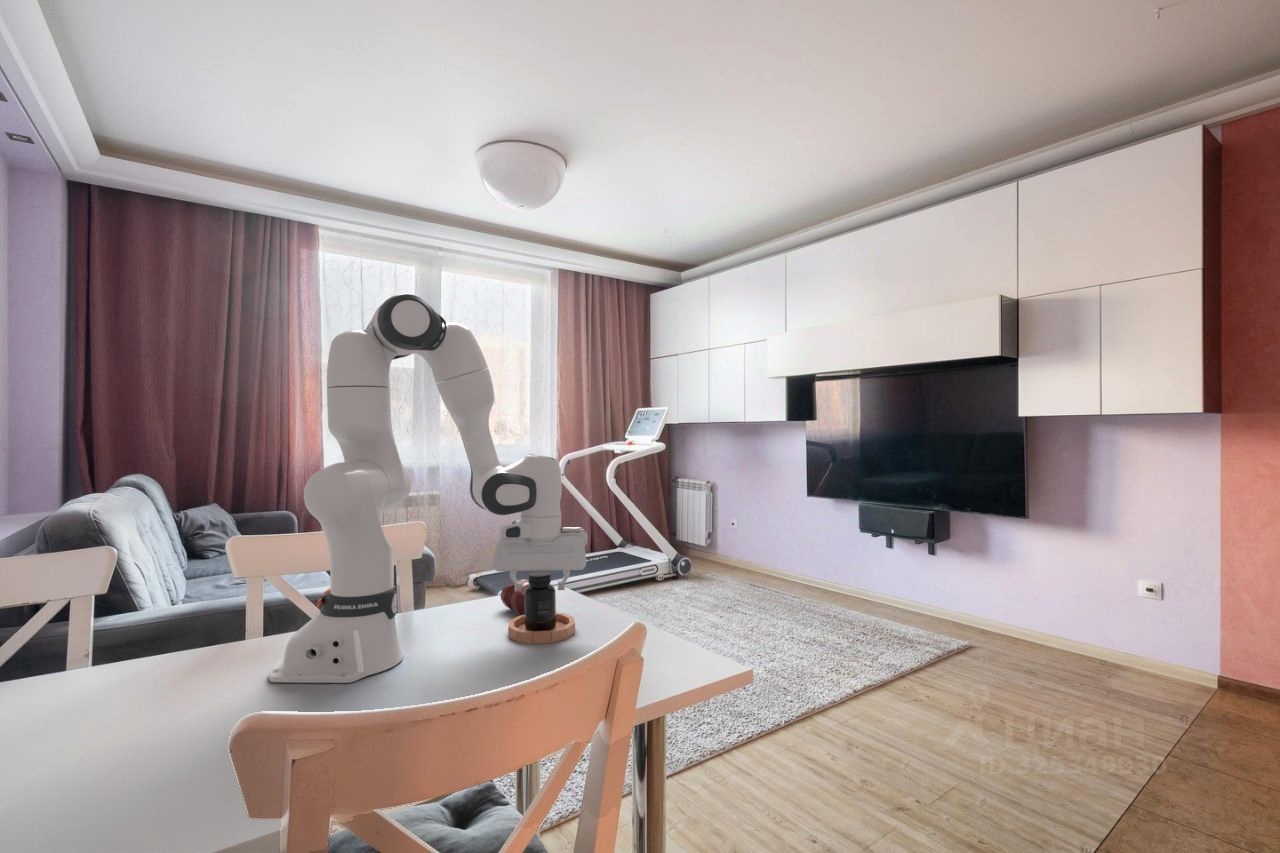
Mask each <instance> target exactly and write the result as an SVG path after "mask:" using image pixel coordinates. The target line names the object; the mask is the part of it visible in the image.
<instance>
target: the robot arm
mask: <svg viewBox="0 0 1280 853" xmlns="http://www.w3.org/2000/svg"><path fill="white" fill-rule="evenodd" d="M328 352H329V353H328V359H327V369H326V400H327V401H326V402H327V403H326V406H327V427H328V431H329V433H330V434H331V435H332V436H333V437H334V438H335V440H336V441H337V442H338V443H337V444H338V445H339V447H340V450H341V452H342V453H341V454H342V457H343V459H344V462H343V461H341V462H337V463H336V462H335V463H333V464H330V465H327V466H326V467H324V468H322V469H320V470H318V471H316V472H315V473H313V474H312V475H311V476H310V477H309V478H308V479H307V481H306V484H305V486H304V489H303V501H304V505H305V507H306V509H307V511H308V512H309V513H310V514H311V516H313V517H314V518H315V519H316V520H317V521H318V522H319V523H320V526H321V529H322V531H323V534H324V537H325V540H326V542H327V546H328V547H327V548H328V551H329V552H328V553H329V568H330V569H329V571H330V572H329V573H330V575H329V576H330V587H328V589H327V590H325V591H324V592H323V595H322V596H320V597H319V599H318V601H316V602H317V605H316V608H319V611H320V612H319V613H317V615H315V616H314V617H313V618H311V619H310V620H309V621H307V622H306V623H305V624H304V625H302V627H300V628H299V629H298V630H297V631H296V632H294V633H293V635H292V636H291V637H290V638H289V640H288V642H287V644H286V647H285V651H284V656H283V658H281V659H280V660H279V661H277V662H276V663H275V664H274V665H273V667H272V668H271V669H270V670H269V675H268V676H269V677H268V679H269V681H270V683H297V684H299V683H301V684H302V683H303V684H304V683H311V684H312V683H313V684H314V683H315V684H317V683H319V684H321V683H322V684H328V683H329V684H330V683H331V684H348V683H354V682H356V681H358V680H361V679H362V678H365V677H368V676H370V675H374V674H379V673H380V672H384V671H386V670H389V669H391V668H392V667H395V666H396V665H398V664H399V663H400V662H401V661H402V660H403V658H404V654H403V652H402V649H401V645H400V642H399V637H398V631H397V623H396V615H397V609H398V596H397V595H398V594H397V586H396V585H395V584H394V581H395V580H394V577H395V576H394V571H395V570H394V567H395V566H394V547H393V545H392V544H393V543H391V542H390V541H389V540H388V538H387V537H386V535H385V532H384V529H383V526H382V521H381V514H382V513H387V512H389V511H392V510H393V509H395V508H396V507H397V506H399V505H400V504H402V503H403V502H404V501H405V500H407V498H408V496H409V495H410V493H411V490H412V478H411V475H410V473H409V470H408V469H407V468H406V466H404V464H403V463H402V461H401V457H400V454H399V451H398V448H397V444H396V440H395V436H394V431H393V425H392V424H393V423H392V409H391V407H392V406H391V389H390V387H391V385H390V369H391V364H392V362H393V360H397V359H401V358H405V357H408V356H410V355H413V354H416V355H418V356H421V357H422V358H423V359H424V360H425V361H426V363H427V364H428V366H429V367H430V369H431V372H432V376H433V378H434V382H435V385H436V388H437V390H438V393H439V395H440V398H441V400H442V402H443V404H444V406H445V408H446V409H447V411H448V413H449V415H450V417H451V418H452V420H453V422H454V424H455V426H456V429H458V431H459V434H460V437H461V440H462V443H463V446H464V450H465V453H466V457H467V460H468V463H469V466H470V480H469V481H470V482H469V493H470V497H471V499H472V502H473V503H474V504H475V505H476V506H478V507H479V508H480V509H483V510H485V511H487V512H489V513H491V514H494V515H496V516H508V515H513V514H516V513H517V514H518V513H520V519H517V520H513V521H511V522H507V523H504V524H502V525H501V527H500V529H499V535H500V537H499V538H498V539H497V541H496V545H495V548H494V554H493V559H492V560H493V562H492V568H493V569H494V570H495V571H496V572H509V577H510V579H511V581H512V583H514V584H515V587H514V591H521V582H518V581H517V580H518V579H517V577H516V576H517V572H547V571H563V572H562V573H563V575H564V576H563V577H562V579H561V580H557V590H558V591H565V589H566V588H565V585H566V583H567V581H568V579H569V577H570V575H571V571H582V570H584V569H585V568H586V566H587V555H586V548H585V547H587V545H588V541H589V540H588V539H589V538H588V537H589V535H588V532H587V531H586V530H585V529H583V528H582V527H577V526H576V527H569V526H568V527H566V526H565V527H563V526H562V511H561V505H560V504H561V498H562V494H563V492H562V488H563V487H562V473H561V472H562V471H561V466H560V463H559V462H558V460H557V459H555V457H551V456H547V455H541V454H536V453H528V454H525V455H524V456H523V458H520V459H518V461H516V462H514V463H512V464H509V465H507V466H505V467H504V466H503V465H502V463H501V462H500V460H499V457H498V454H497V450H496V447H495V444H494V441H493V437H492V433H491V430H490V425H489V424H490V422H489V421H490V414H491V411H492V408H493V405H494V402H495V391H494V386H493V379H492V376H491V372H490V370H489V367H488V365H487V364H488V363H487V361H486V359H485V356H484V354H483V351H482V349H481V347H480V345H479V343H478V341H477V338H476V337H475V335H474V334H473V331H472V330H471V329H470V328H469V327H468V326H467V325H465V324H463V323H459V322H446V319H445V318H444V317H443V316H442V315H441V314H440V313H438V312H437V310H435V309H434V308H433V306H432V305H431V304H430V303H429V302H428V301H426V300H425V299H424V298H422V297H421V296H419V295H416V294H413V293H400V294H399V293H398V294H394V295H392V296H390V297H389V298H387V299H386V300H384V302H383V303H382V304H381V305H380V306H378V307H377V309H376V310H375V312H374V314H373V316H372V318H371V319H370V321H369V323H368V325H367V327H366V328H365V329H363V330H358V329H357V330H356V329H355V330H347V331H342V332H341V333H338V334H337V335H336V336H334V337H333V339H332V341H331V343H330V347H329V351H328Z"/></svg>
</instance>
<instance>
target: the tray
mask: <svg viewBox="0 0 1280 853" xmlns="http://www.w3.org/2000/svg"><path fill="white" fill-rule="evenodd" d="M575 621H576V620H575V617H574V616H571V615H569V614H567V613H562V612H556V627H555V628H554V629H553V630H550V631H527V630H526V629H525V615H521V614H520V615H518V616H516V617H514V618H512V619H510V620H509V621H508V628H507V630H508V631H507V632H508V633H507V638H509V637H510V638H509V639H511V640H513V641H515V642H516V643H522V644H530V645H538V644H551V643H556V642H560V641H563V640H567V639H569V638H570V637H571V636H573V635H575V634H576V622H575Z"/></svg>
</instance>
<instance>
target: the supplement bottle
mask: <svg viewBox="0 0 1280 853" xmlns="http://www.w3.org/2000/svg"><path fill="white" fill-rule="evenodd" d="M551 576H552V575H551V573H550V572H547V571H535V572H531V573H529V575H528V580H529V584H530V586H528V587H527V588H526V589H525V592H524V598H525V629H526V630H527V631H550V630H553V629H554V628H555V627H556V613H557V601H556V600H557V599H556V588H555V586H553V585H552V584H551V583H552V577H551Z"/></svg>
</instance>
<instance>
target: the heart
mask: <svg viewBox="0 0 1280 853" xmlns="http://www.w3.org/2000/svg"><path fill="white" fill-rule="evenodd" d="M517 581H518V582H521V591H514V587H515V584H514V583H513V582H511V583H509V584H507V585H506V586H504V587H503V588H502V590H501V592H500V600H501V602H502V604H503V605H504V606H505V607H506V608H508V609H510V610H513V611H515V612H516V613H517V614H518V615H520V616H521V615H525V598H524V592H525V589H526V588H527V587H528V586H530V584H529V579H525V578H520V579H517Z"/></svg>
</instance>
